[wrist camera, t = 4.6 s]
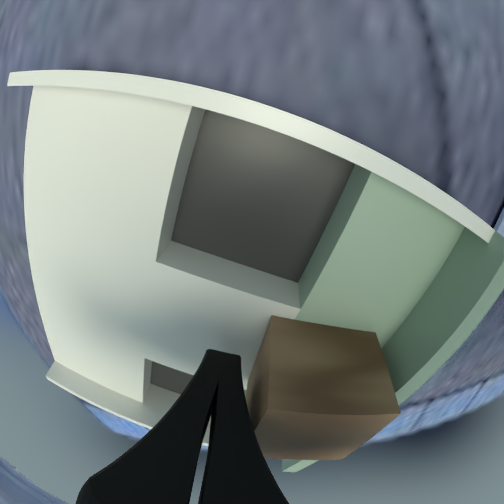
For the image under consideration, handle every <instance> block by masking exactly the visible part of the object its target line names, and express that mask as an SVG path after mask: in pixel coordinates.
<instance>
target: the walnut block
mask: <svg viewBox="0 0 504 504" xmlns="http://www.w3.org/2000/svg"><path fill="white" fill-rule="evenodd" d="M246 403H247V407H248V412H249V415H250V419H251V423H252V426H253V429H254V432H255V435H256V438H257V441H258V444H259V446H260V449H261V451H262V454H263V456H264V458H275V459H291V460H340V459H342V458H344V457H346V456H347V455H348V454H350V453H351V452H353V451H354V450H356V449H357V448H358V447H360V446H361V445H363V444H364V443H365V442H367V441H368V440H369V439H370V438H372V437H373V436H374V435H376V434H377V433H378V432H379V431H381V430H382V429H383V428H384V427H386V426H387V425H388V424H389V423H390V422H391V421H393V420H394V419H395V418H396V417H397V416H398V415H400V414H401V413H400V409H399V405H398V402H397V398H396V394H395V391H394V388H393V384H392V381H391V378H390V374H389V371H388V368H387V365H386V362H385V359H384V355H383V352H382V349H381V347H380V344H379V341H378V338H377V335H376V332H369V331H362V330H355V329H348V328H341V327H335V326H329V325H323V324H317V323H311V322H305V321H299V320H294V319H288V318H283V317H278V316H273V315H271V318H270V321H269V323H268V326H267V329H266V332H265V335H264V338H263V340H262V343H261V346H260V349H259V351H258V354H257V357H256V360H255V362H254V365H253V368H252V370H251V373H250V376H249V378H248V382H247V391H246Z"/></svg>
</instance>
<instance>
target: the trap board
mask: <svg viewBox="0 0 504 504" xmlns="http://www.w3.org/2000/svg"><path fill="white" fill-rule="evenodd" d="M24 85H34V88H33V92H32V98H31V103H30V110H29V116H28V124H27V132H26V143H25V158H24V210H25V225H26V236H27V245H28V253H29V260H30V266H31V272H32V278H33V283H34V288H35V293H36V297H37V301H38V306H39V310H40V314H41V317H42V321H43V325H44V328H45V331H46V335H47V338H48V341H49V344H50V347H51V350H52V353H53V356H54V359H55V362H54V363H53V365H52V366H51V368H50V369H49V371H48V373H47V374H46V377H47V379H48V380H50V381H51V382H53V383H55V384H56V385H58V386H60V387H61V388H63V389H65V390H66V391H68V392H70V393H72V394H74V395H76V396H77V397H79V398H81V399H83V400H85V401H87V402H89V403H91V404H93V405H95V406H97V407H99V408H101V409H103V410H105V411H108V412H110V413H112V414H114V415H117V416H119V417H121V418H124V419H126V420H128V421H131V422H133V423H136V424H139V425H141V426H144V427H147V428H149V429H152V428H153V427H154V426H155V425H156V424H157V423H158V422H159V421H160V420H161V418H162V417H163V416H164V415H165V414H166V413H167V412H168V410H169V409H170V408H171V407H172V405H173V404H174V403H175V401H176V400H177V399H178V398H179V396H180V395H181V394H182V392H183V391H184V389H185V388H186V386H187V385H188V383H189V382H190V380H191V379H192V377H193V376H194V374H195V372H196V371H197V369H198V367H199V365H200V364H201V362H202V359H203V357H204V355H205V353H206V350H208V349H213V350H217V351H222V352H227V353H231V354H236V355H240V357H241V370H242V380H243V387H244V393H245V398H246V391H247V382H248V378H249V376H250V373H251V370H252V368H253V365H254V362H255V360H256V357H257V354H258V351H259V349H260V346H261V343H262V340H263V338H264V335H265V332H266V329H267V326H268V323H269V321H270V318H271V315H273V316H278V317H283V318H288V319H294V320H299V321H305V322H311V323H317V324H323V325H329V326H335V327H341V328H348V329H355V330H362V331H369V332H376V335H377V338H378V341H379V344H380V347H381V349H382V352H383V355H384V359H385V362H386V365H387V368H388V371H389V374H390V378H391V381H392V384H393V388H394V391H395V394H396V398H397V402H398V405H400V404H401V403H402V402H404V401H405V400H406V399H407V398H408V397H409V396H411V395H412V394H413V393H414V392H415V391H416V390H417V389H418V388H420V387H421V386H422V385H423V384H424V383H425V382H426V381H427V380H428V379H429V378H430V377H431V376H432V375H433V374H434V373H435V372H436V371H437V370H438V369H439V368H440V367H441V366H442V365H443V364H444V363H445V362H446V361H447V360H448V359H449V358H450V357H451V356H452V355H453V354H454V352H455V351H456V350H457V349H458V348H459V347H460V346H461V345H462V343H463V342H464V341H465V340H466V339H467V338H468V336H469V335H470V334H471V333H472V332H473V330H474V329H475V328H476V327H477V325H478V324H479V323H480V321H481V320H482V319H483V318H484V316H485V315H486V314H487V312H488V311H489V309H490V308H491V307H492V305H493V304H494V302H495V301H496V300H497V298H498V297H499V295H500V294H501V292H502V291H503V289H504V237H503V236H502V235H500V234H499V233H498V232H497V231H495V230H494V229H493V228H492V227H490V226H489V225H488V224H487V223H486V222H484V221H483V220H482V219H481V218H479V217H478V216H477V215H475V214H474V213H473V212H471V211H470V210H469V209H467V208H466V207H465V206H463V205H462V204H461V203H459V202H458V201H456V200H455V199H454V198H452V197H451V196H449V195H448V194H446V193H445V192H443V191H442V190H440V189H439V188H437V187H436V186H434V185H433V184H431V183H430V182H428V181H427V180H425V179H423V178H422V177H420V176H419V175H417V174H415V173H414V172H412V171H410V170H409V169H407V168H405V167H403V166H402V165H400V164H398V163H396V162H395V161H393V160H391V159H389V158H387V157H386V156H384V155H382V154H380V153H378V152H376V151H374V150H372V149H370V148H368V147H366V146H364V145H362V144H360V143H358V142H356V141H354V140H352V139H350V138H348V137H346V136H343V135H341V134H339V133H337V132H335V131H332V130H330V129H328V128H325V127H323V126H321V125H318V124H316V123H313V122H311V121H309V120H306V119H303V118H301V117H298V116H296V115H293V114H290V113H288V112H285V111H282V110H279V109H276V108H274V107H271V106H268V105H265V104H262V103H258V102H255V101H252V100H249V99H246V98H242V97H239V96H235V95H232V94H228V93H224V92H221V91H217V90H213V89H209V88H205V87H200V86H196V85H191V84H187V83H182V82H177V81H171V80H166V79H160V78H154V77H147V76H140V75H133V74H124V73H114V72H103V71H85V70H39V71H23V72H12V73H10V75H9V80H8V84H7V86H24ZM210 423H211V417H210V420H209V423H208V426H207V430H206V433H205V436H204V439H203V442H202V445H205V446H208V445H209V434H210ZM316 461H318V460H291V459H282V471H286V472H297V471H299V470H301V469H303V468H305V467H307V466H309V465H310V464H312V463H314V462H316Z"/></svg>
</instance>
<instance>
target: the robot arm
mask: <svg viewBox="0 0 504 504" xmlns="http://www.w3.org/2000/svg"><path fill="white" fill-rule="evenodd" d="M494 230H495V231H497V232H498V233H499V234H500V235H502V236H503V237H504V208H503V210H502V212H501V214H500V216H499V218H498V221H497V223H496V225H495V227H494ZM210 417H211V423H210V434H209V445H208V454H207V461H206V465H205V471H204V476H203V481H202V486H201V491H200V496H199V502H198V504H289V503H288V501H287V500H286V498H285V497H284V495H283V493H282V492H281V490H280V488H279V487H278V485H277V483H276V481H275V479H274V477H273V475H272V473H271V471H270V469H269V468H268V466H267V463H266V461H265V459H264V456H263V454H262V451H261V449H260V446H259V444H258V441H257V438H256V435H255V432H254V429H253V426H252V423H251V419H250V415H249V412H248V407H247V403H246V398H245V393H244V387H243V380H242V370H241V357H240V355H236V354H231V353H227V352H222V351H217V350H213V349H208V350H206V353H205V355H204V357H203V359H202V362H201V364H200V365H199V367H198V369H197V371H196V372H195V374H194V376H193V377H192V379H191V380H190V382H189V383H188V385H187V386H186V388H185V389H184V391H183V392H182V394H181V395H180V396H179V398H178V399H177V400H176V401H175V403H174V404H173V405H172V407H171V408H170V409H169V410H168V412H167V413H166V414H165V415H164V416H163V417H162V418H161V420H160V421H159V422H158V423H157V424H156V425H155V426H154V427H153V428H152V429H151V430H150V431H149V432H148V433H147V434H146V435H145V436H144V437H143V438H142V439H141V440H140V441H138V442H137V443H136V444H135V445H134V446H133V447H132V448H130V449H129V450H128V451H127V452H125V453H124V454H123V455H122V456H120V457H119V458H118V459H116V460H115V461H114V462H113V463H111V464H110V465H108V466H107V467H105V468H104V469H102V470H101V471H99V472H97V473H96V474H94V475H93V476H91V477H90V478H89V479H88V480H87V481H86V483H85V484H84V485H83V487H82V488H81V490H80V492H79V495H78V498H77V501H76V504H189V502H190V497H191V491H192V486H193V481H194V476H195V471H196V466H197V461H198V457H199V453H200V449H201V446H202V442H203V439H204V436H205V433H206V430H207V426H208V423H209V420H210ZM0 504H68V503H67V502H65V501H63V500H61V499H59V498H58V497H56V496H54V495H53V494H51V493H49V492H48V491H46V490H44V489H43V488H42V487H40V486H38V485H37V484H35V483H34V482H33V481H31V480H30V479H28V478H27V477H25V476H24V475H23V474H21V473H20V472H19V471H17V470H16V468H15V467H14V466H13V465H12V464H10V463H9V462H8V461H6V460H5V459H4V458H3V457H2V456H1V455H0Z"/></svg>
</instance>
